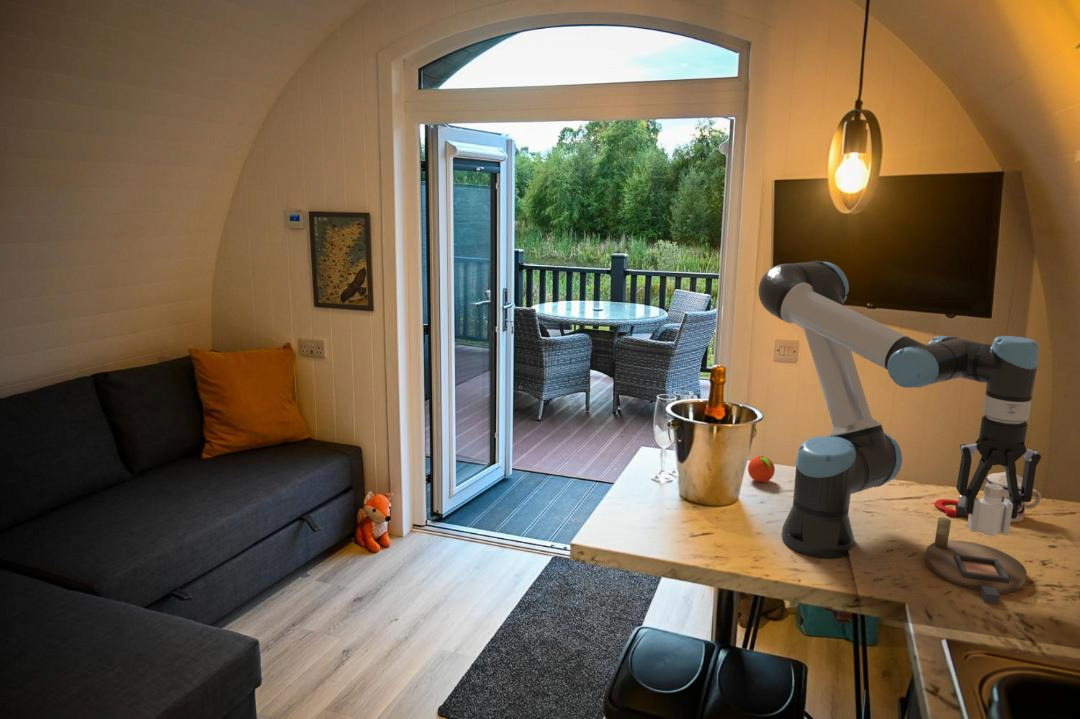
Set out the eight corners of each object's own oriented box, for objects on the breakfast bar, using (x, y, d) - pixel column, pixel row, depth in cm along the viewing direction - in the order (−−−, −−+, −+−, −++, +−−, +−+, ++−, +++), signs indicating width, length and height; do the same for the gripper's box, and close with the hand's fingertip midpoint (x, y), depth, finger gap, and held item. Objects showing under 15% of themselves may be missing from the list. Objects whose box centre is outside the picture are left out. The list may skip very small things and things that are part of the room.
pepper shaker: (994, 538, 146) (1001, 492, 144) (972, 530, 149) (979, 486, 147) (1002, 532, 149) (1009, 487, 147) (980, 525, 152) (987, 481, 150)
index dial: (991, 602, 144) (997, 564, 142) (906, 560, 159) (910, 526, 157) (1043, 579, 152) (1050, 542, 150) (958, 541, 167) (963, 508, 165)
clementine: (781, 486, 200) (783, 461, 198) (757, 489, 198) (759, 463, 196) (764, 475, 207) (766, 450, 205) (742, 477, 205) (743, 453, 204)
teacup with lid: (988, 521, 180) (995, 475, 178) (976, 505, 189) (983, 461, 186) (1044, 526, 178) (1052, 480, 175) (1029, 510, 186) (1037, 466, 184)
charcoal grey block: (983, 607, 144) (985, 593, 143) (979, 599, 147) (981, 585, 146) (997, 609, 143) (1000, 595, 143) (993, 601, 146) (995, 587, 145)
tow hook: (929, 502, 192) (942, 516, 183) (935, 453, 189) (949, 465, 180) (965, 504, 190) (980, 519, 182) (971, 455, 188) (987, 467, 179)
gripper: (957, 419, 143) (941, 532, 148) (1067, 428, 138) (1046, 545, 143) (947, 408, 150) (932, 516, 155) (1052, 416, 145) (1033, 528, 150)
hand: (987, 530), depth 149 cm, fingers closed on pepper shaker, 5 cm apart
